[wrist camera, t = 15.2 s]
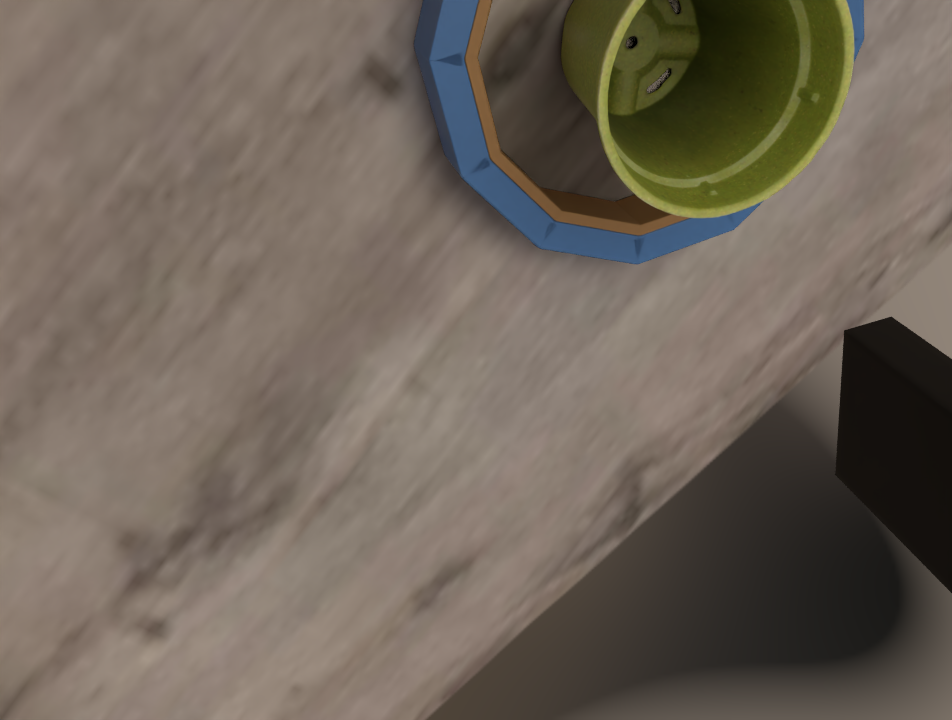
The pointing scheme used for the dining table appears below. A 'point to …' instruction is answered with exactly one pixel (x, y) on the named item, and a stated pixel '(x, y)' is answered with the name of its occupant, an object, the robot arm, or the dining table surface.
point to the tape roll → (509, 188)
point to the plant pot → (710, 93)
